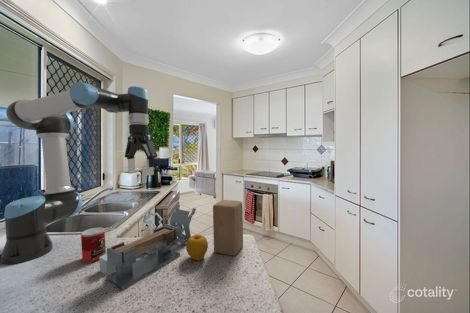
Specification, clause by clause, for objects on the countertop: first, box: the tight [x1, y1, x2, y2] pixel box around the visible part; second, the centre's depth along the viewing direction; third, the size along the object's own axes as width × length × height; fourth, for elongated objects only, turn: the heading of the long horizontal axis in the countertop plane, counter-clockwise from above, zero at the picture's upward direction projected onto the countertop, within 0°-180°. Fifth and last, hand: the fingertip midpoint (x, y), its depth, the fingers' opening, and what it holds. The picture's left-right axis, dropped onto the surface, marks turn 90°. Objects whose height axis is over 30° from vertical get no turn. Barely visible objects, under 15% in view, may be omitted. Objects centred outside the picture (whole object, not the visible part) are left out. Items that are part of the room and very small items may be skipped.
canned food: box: [80, 227, 107, 264], centre depth 80 cm, size 8×8×11 cm
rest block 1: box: [98, 253, 116, 276], centre depth 72 cm, size 5×4×5 cm
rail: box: [114, 229, 171, 257], centre depth 73 cm, size 4×20×4 cm, turn 148°
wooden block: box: [212, 199, 244, 257], centre depth 85 cm, size 10×10×20 cm
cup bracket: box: [105, 225, 181, 291], centre depth 73 cm, size 10×23×11 cm, turn 148°
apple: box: [185, 234, 209, 261], centre depth 78 cm, size 8×8×9 cm
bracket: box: [163, 204, 197, 246], centre depth 94 cm, size 13×10×15 cm
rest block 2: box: [144, 246, 158, 255], centre depth 85 cm, size 5×4×5 cm
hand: (140, 174), depth 86 cm, fingers open, 13 cm apart
